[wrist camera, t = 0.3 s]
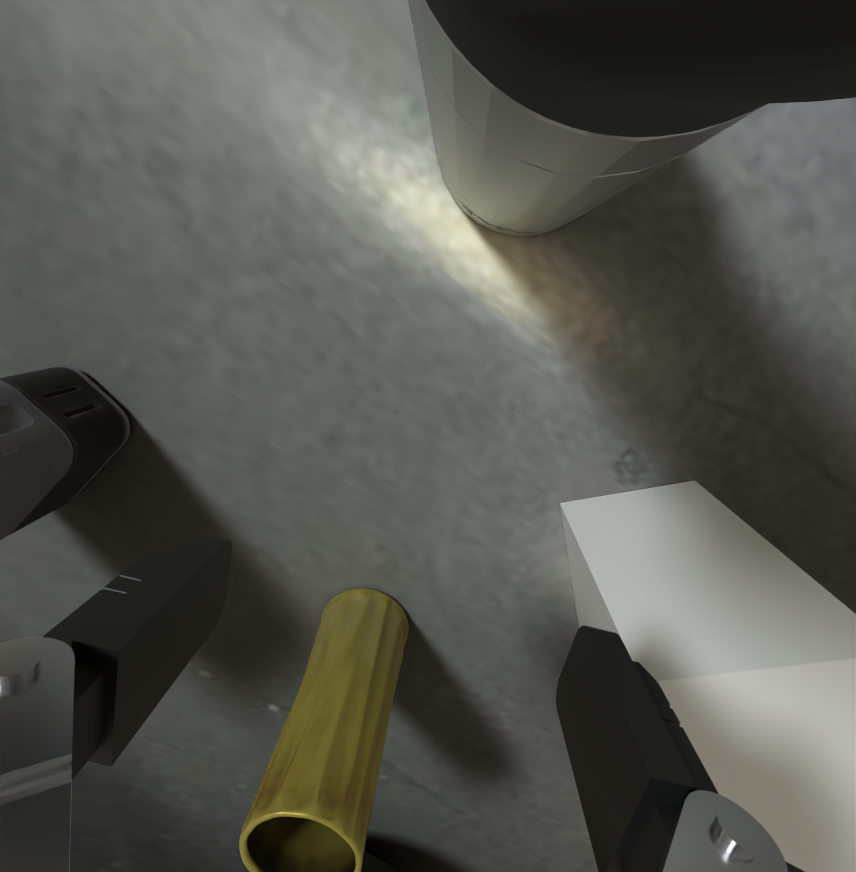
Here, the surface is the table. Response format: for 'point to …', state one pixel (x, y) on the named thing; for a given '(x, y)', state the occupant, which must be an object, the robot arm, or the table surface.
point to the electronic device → (52, 441)
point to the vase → (330, 743)
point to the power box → (732, 655)
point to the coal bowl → (375, 864)
